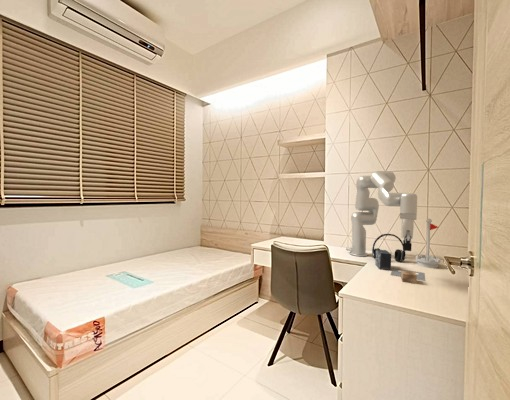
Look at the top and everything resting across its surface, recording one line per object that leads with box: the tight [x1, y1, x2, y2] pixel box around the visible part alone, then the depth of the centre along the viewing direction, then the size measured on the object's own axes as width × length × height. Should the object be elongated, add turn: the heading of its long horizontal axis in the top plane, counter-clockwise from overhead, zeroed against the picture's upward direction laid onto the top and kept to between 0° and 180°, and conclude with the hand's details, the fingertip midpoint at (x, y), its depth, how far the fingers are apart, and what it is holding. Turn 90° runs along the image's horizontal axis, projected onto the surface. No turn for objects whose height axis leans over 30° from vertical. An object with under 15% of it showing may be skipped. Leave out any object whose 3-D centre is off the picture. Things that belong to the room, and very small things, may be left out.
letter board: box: [390, 267, 426, 282], centre depth 140 cm, size 16×16×1 cm
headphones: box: [371, 233, 406, 262], centre depth 170 cm, size 20×7×18 cm, turn 81°
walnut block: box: [400, 269, 418, 285], centre depth 129 cm, size 6×6×5 cm
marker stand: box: [414, 218, 441, 269], centre depth 160 cm, size 13×13×30 cm
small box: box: [374, 248, 392, 271], centre depth 152 cm, size 11×6×10 cm, turn 168°
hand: (407, 248), depth 133 cm, fingers open, 9 cm apart
